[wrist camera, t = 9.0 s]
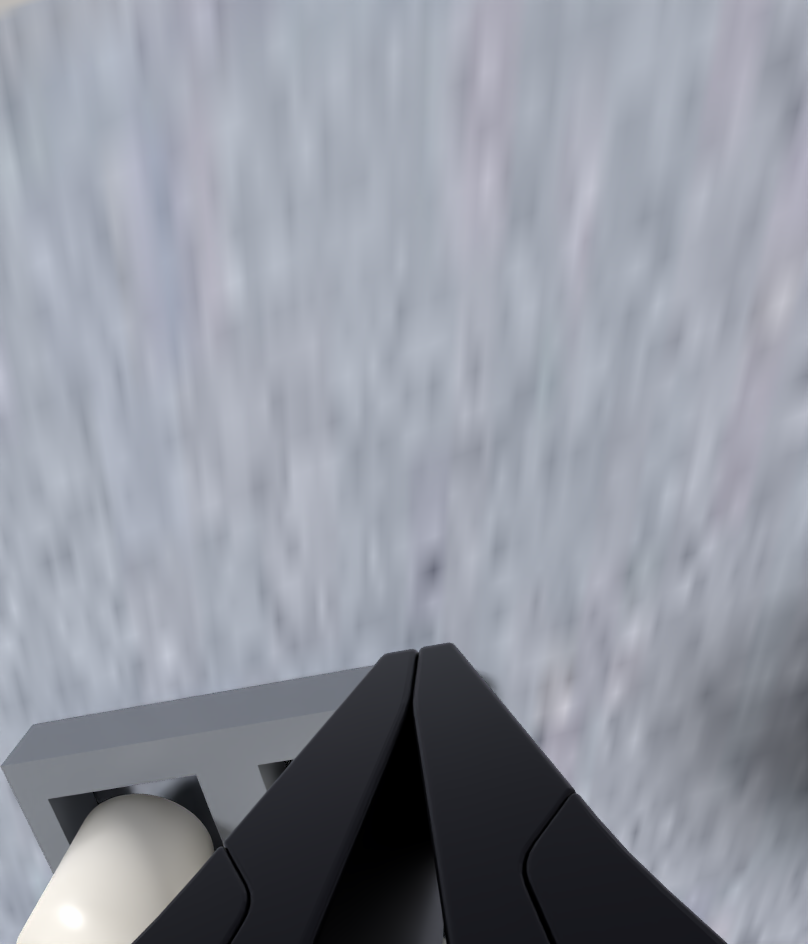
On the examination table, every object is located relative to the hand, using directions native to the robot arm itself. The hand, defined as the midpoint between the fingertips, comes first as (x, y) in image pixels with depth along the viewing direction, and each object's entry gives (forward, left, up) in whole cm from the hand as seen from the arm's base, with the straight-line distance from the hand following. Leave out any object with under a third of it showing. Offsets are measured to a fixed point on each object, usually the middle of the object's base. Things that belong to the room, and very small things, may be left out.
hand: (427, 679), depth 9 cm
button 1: (+12, +12, -11) cm, 20 cm away
